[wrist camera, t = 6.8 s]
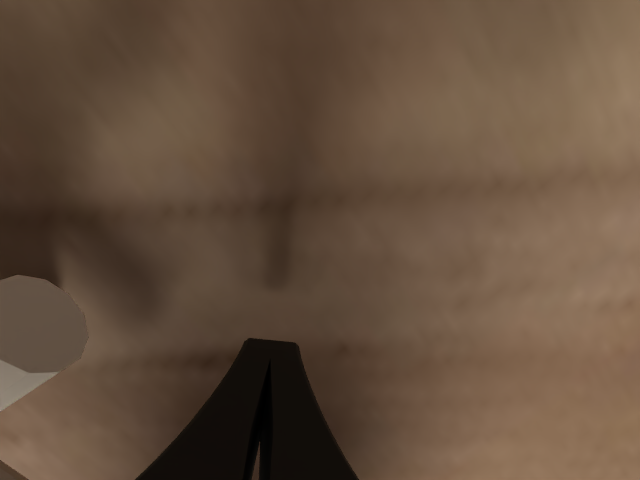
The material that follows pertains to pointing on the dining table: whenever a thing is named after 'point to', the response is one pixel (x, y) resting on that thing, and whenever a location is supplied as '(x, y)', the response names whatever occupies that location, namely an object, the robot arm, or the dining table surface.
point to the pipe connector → (35, 339)
